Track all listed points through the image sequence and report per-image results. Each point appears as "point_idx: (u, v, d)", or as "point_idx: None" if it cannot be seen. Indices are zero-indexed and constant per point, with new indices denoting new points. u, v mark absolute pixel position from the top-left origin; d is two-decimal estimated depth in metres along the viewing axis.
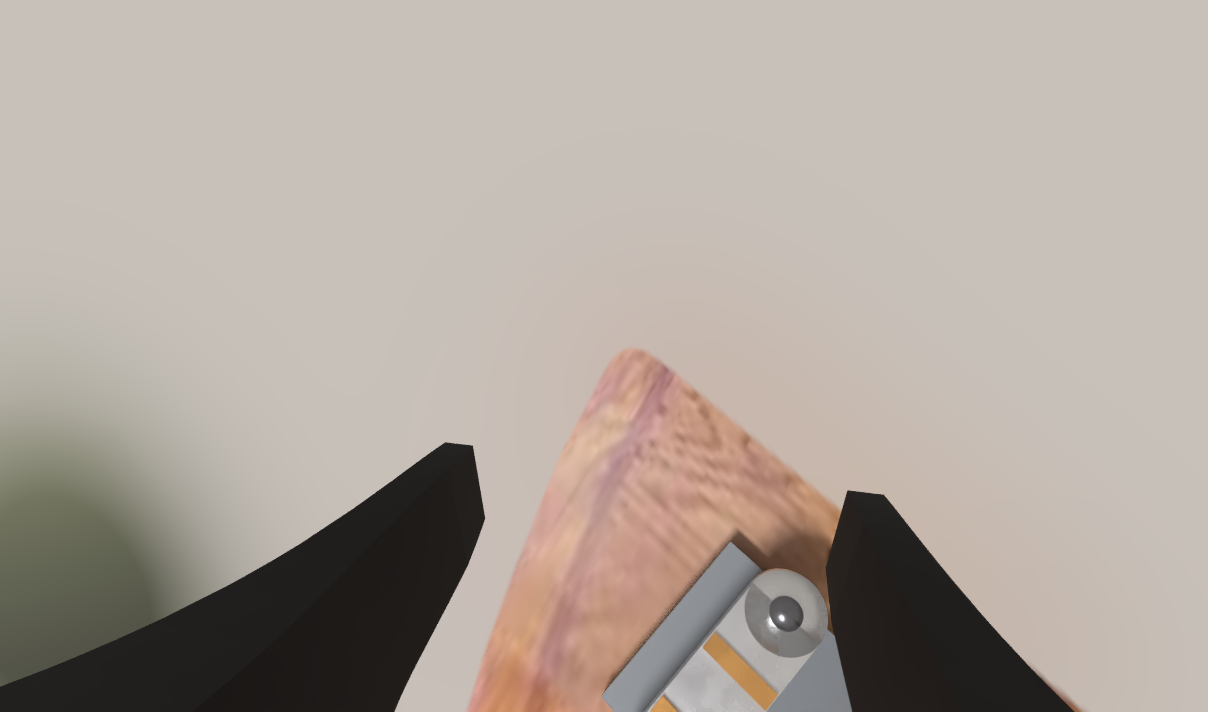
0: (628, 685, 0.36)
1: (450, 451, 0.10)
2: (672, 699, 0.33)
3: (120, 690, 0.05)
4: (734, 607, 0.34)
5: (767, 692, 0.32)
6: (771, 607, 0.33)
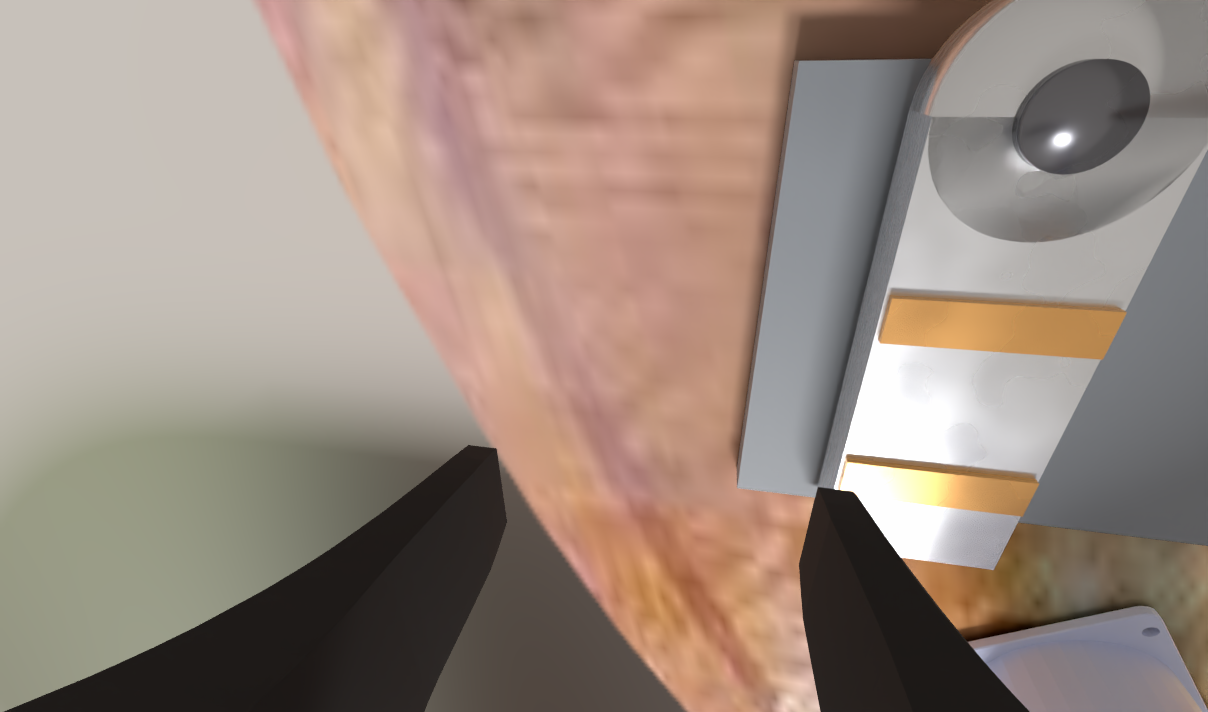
0: (768, 451, 0.18)
1: (474, 454, 0.10)
2: (869, 453, 0.15)
3: (161, 701, 0.05)
4: (910, 212, 0.12)
5: (1092, 323, 0.12)
6: (1026, 138, 0.10)
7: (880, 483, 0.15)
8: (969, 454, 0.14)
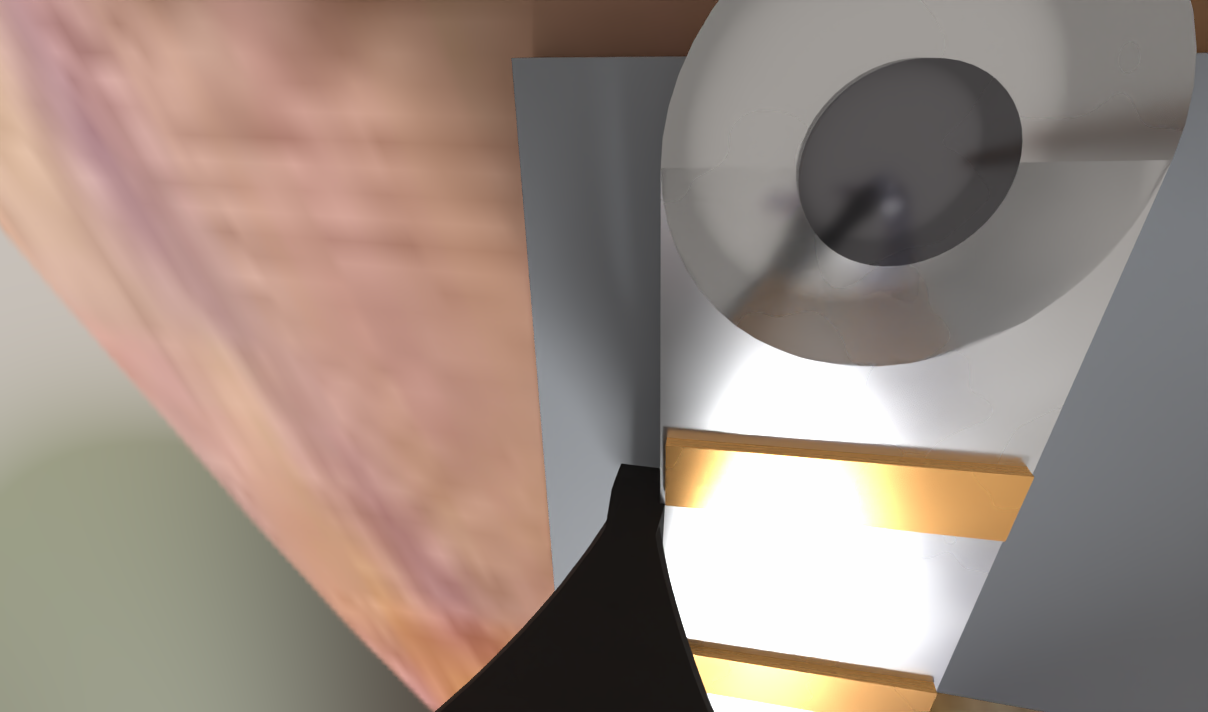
0: None
1: (654, 477, 0.10)
2: (694, 636, 0.10)
3: None
4: (666, 319, 0.07)
5: (980, 491, 0.07)
6: (809, 206, 0.06)
7: (715, 677, 0.10)
8: (832, 647, 0.10)
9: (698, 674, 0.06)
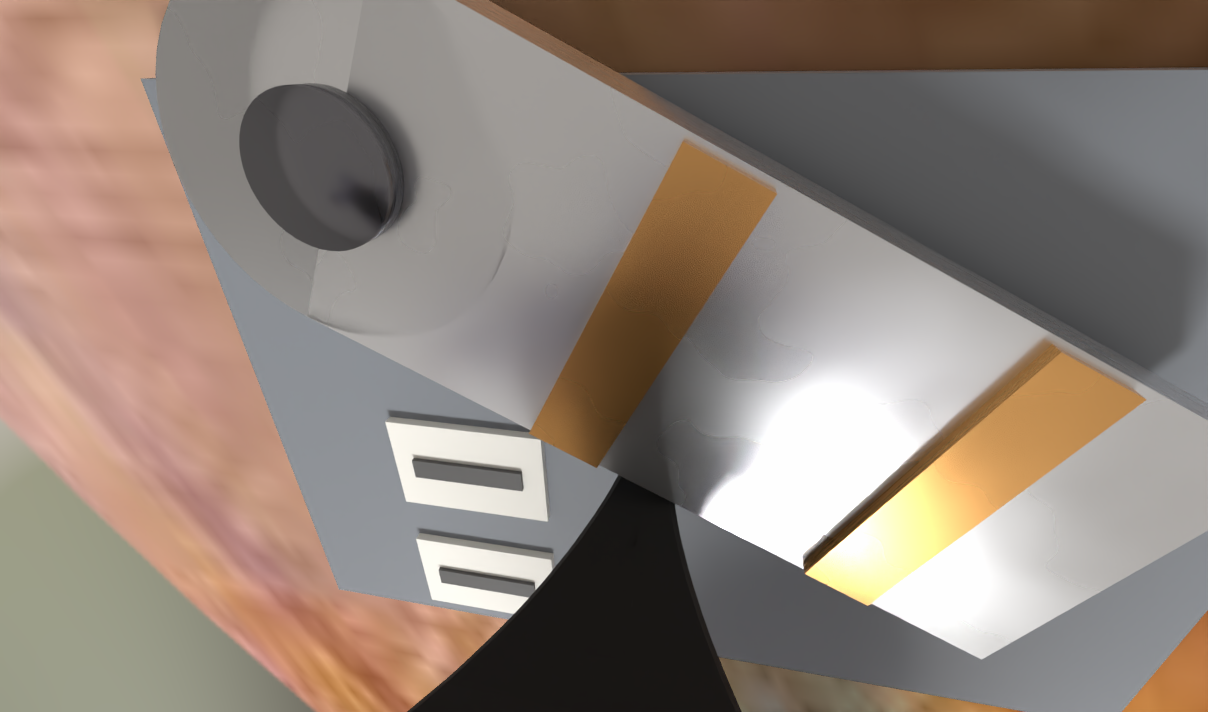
0: (349, 551, 0.15)
1: None
2: (811, 537, 0.09)
3: None
4: (422, 369, 0.08)
5: (683, 199, 0.06)
6: (325, 246, 0.07)
7: (879, 556, 0.08)
8: (903, 424, 0.07)
9: (727, 680, 0.06)
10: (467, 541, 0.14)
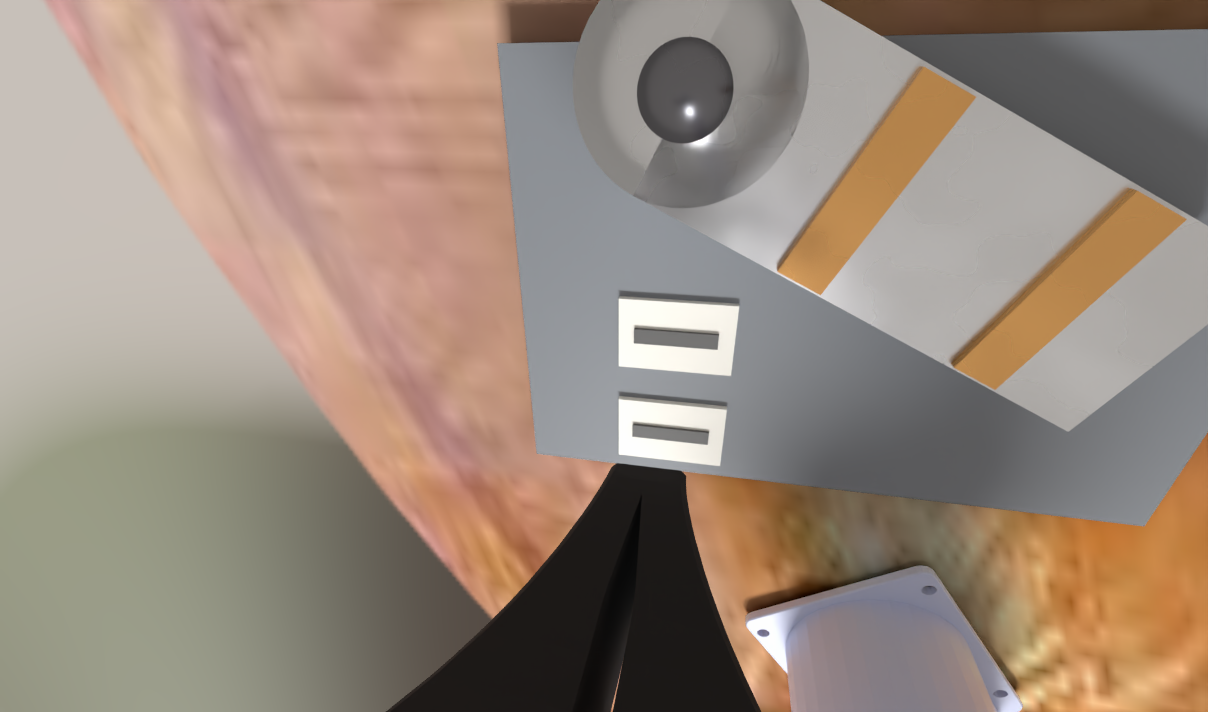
0: (555, 417, 0.19)
1: (630, 474, 0.10)
2: (960, 341, 0.13)
3: None
4: (705, 231, 0.13)
5: (917, 102, 0.11)
6: (677, 140, 0.12)
7: (1007, 347, 0.13)
8: (1033, 249, 0.12)
9: (747, 683, 0.06)
10: (658, 400, 0.18)
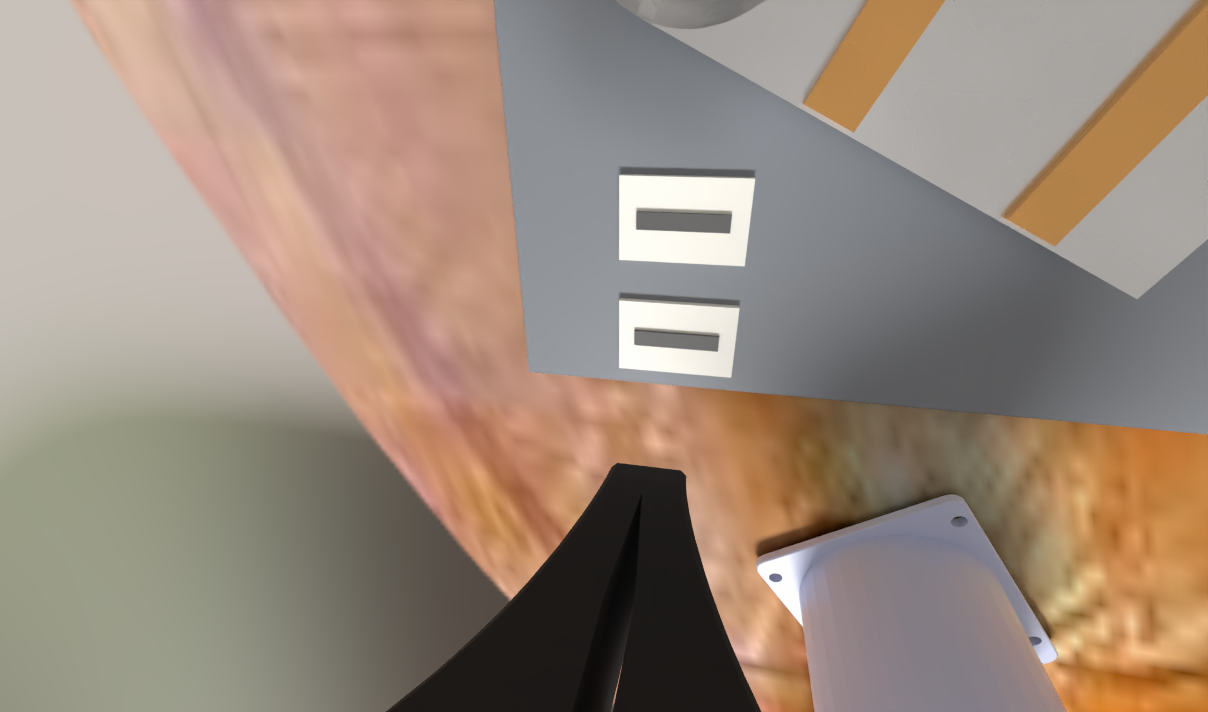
0: (549, 327, 0.18)
1: (631, 474, 0.10)
2: (1015, 187, 0.11)
3: None
4: (720, 58, 0.11)
5: None
6: None
7: (1072, 190, 0.11)
8: (1108, 59, 0.10)
9: (747, 683, 0.06)
10: (663, 301, 0.16)
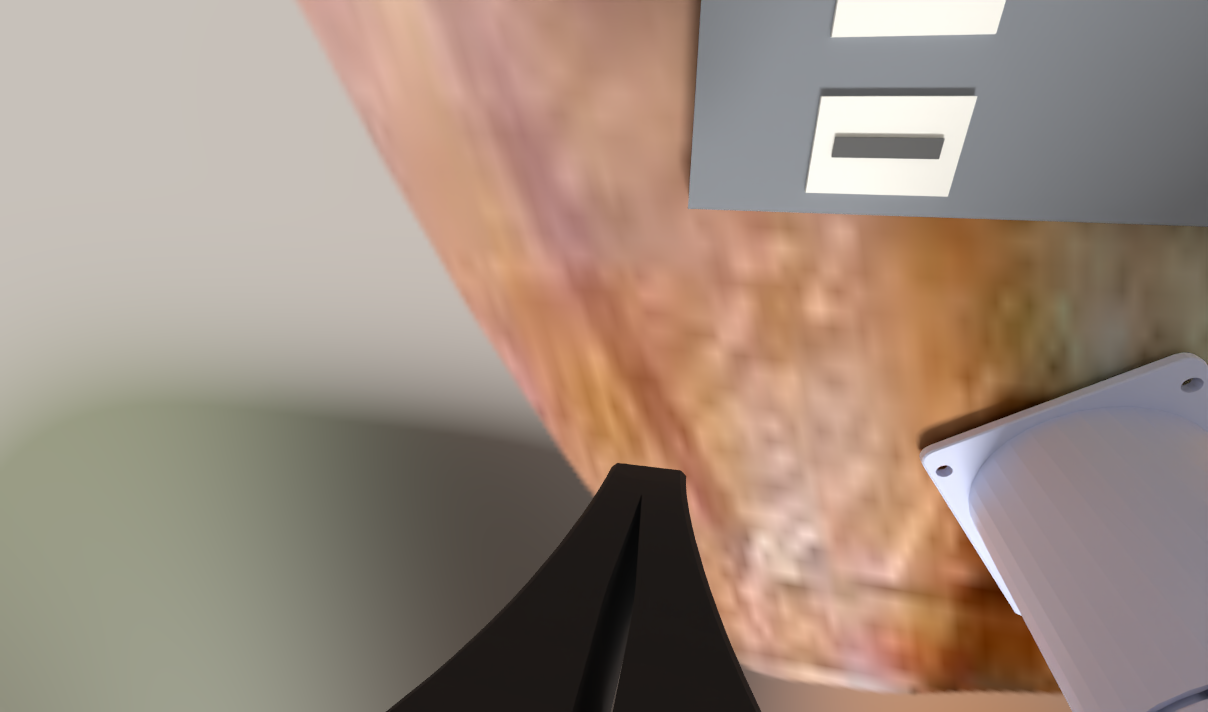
0: (723, 144, 0.15)
1: (630, 474, 0.10)
2: None
3: None
4: None
5: None
6: None
7: None
8: None
9: (747, 683, 0.06)
10: (875, 96, 0.14)
